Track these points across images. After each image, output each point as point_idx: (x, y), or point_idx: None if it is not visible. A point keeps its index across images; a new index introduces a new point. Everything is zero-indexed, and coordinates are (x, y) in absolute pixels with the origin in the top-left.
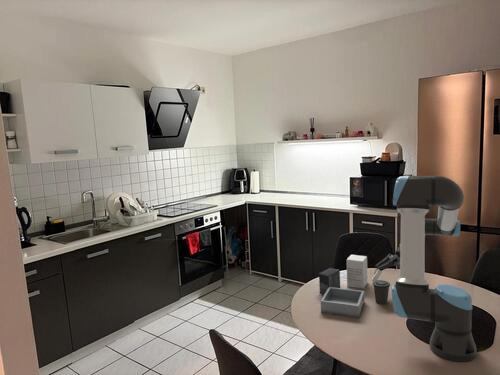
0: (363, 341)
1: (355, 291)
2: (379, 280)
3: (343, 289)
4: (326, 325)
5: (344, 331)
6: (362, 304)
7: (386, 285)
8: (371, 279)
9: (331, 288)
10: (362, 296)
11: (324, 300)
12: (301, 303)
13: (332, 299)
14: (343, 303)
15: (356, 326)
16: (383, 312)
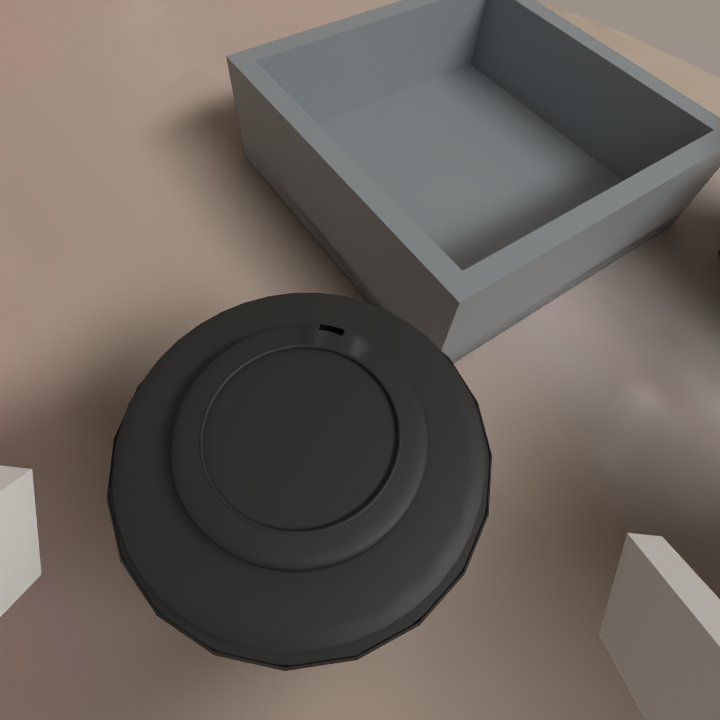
0: (55, 22)
1: (520, 243)
2: (401, 482)
3: (622, 181)
4: (318, 13)
5: (200, 26)
6: (349, 257)
7: (142, 419)
8: (661, 542)
9: (703, 136)
10: (358, 200)
11: (511, 20)
12: (648, 67)
13: (595, 183)
14: (351, 23)
15: (183, 85)
16: (148, 340)
